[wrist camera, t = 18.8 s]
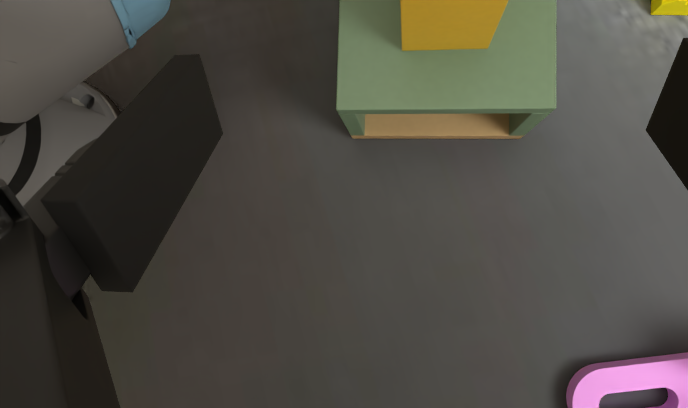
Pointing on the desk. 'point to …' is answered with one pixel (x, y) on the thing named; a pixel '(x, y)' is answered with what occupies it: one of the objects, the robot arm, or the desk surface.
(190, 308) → the desk surface
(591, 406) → the bracket
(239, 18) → the desk surface
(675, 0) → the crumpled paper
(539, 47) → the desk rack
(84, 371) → the robot arm
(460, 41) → the package
